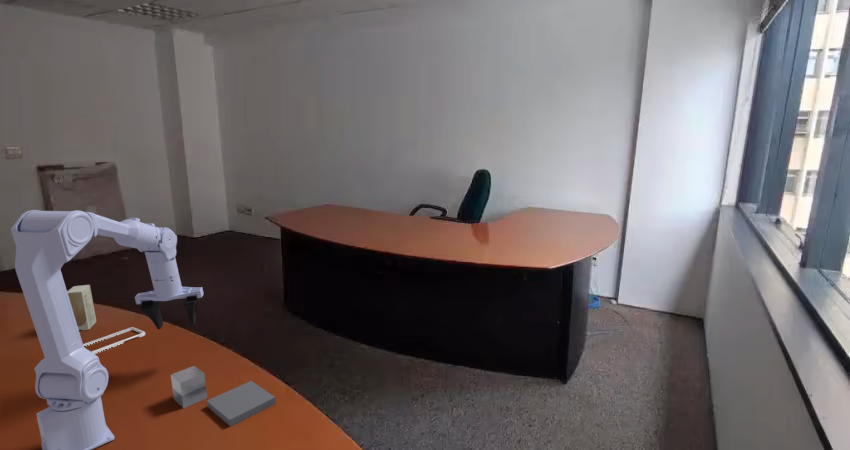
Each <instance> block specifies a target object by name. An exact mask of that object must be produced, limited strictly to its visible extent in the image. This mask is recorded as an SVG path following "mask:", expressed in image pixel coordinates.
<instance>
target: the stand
mask: <svg viewBox="0 0 850 450" xmlns="http://www.w3.org/2000/svg"><path fill="white" fill-rule="evenodd" d="M276 404H277V403H276V397H275V396H274V395H273V394H271V393H270V392H268V391H267V390H265V389H264V388H263V387H261V386H259V385H258V384H257V383H255V382H254V381H252V380H250V381H248V382H246V383H243V384H240V385H239V386H237V387H234V388H232V389H230V390H228V391H225V392H223V393H221V394H218V395H216V396H214V397H212V398H209V399H208V400H206V406H207V408H208V409H210V410H211V412H213V413H214V414H215V415H216V416H217V417H218V418H220V419H221V420H222V422H224V423H225V424H227V425H228V426H229V427H232V426H234V425H236V424H238V423H240V422H243V421H244V420H246V419H248V418H250V417H252V416H254V415H256V414H257V413H259V412H262V411H264V410H265V409H267V408H269V407H271V406H273V405H276Z"/></svg>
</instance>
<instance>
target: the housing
mask: <svg viewBox="0 0 850 450" xmlns="http://www.w3.org/2000/svg"><path fill="white" fill-rule="evenodd" d="M170 380H171V381H170V382H171V387H172V393H173V394H172V395H173V400H174V401H175V402H176V403H177V404H178V405H180V406H181V407H182V409H185V408H188V407H189V406H193V405H195V404H197V403H199V402H201V401H203V400H206V399H208V392H207V391H208V390H207V384H206V376H205V372H203V371H202V370H201V369H200V368H198V367H197V366H196V365H193V366H190V367H187V368H185V369H182V370H179V371H177V372H174V373H172V374H170Z"/></svg>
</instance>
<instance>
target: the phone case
mask: <svg viewBox="0 0 850 450" xmlns="http://www.w3.org/2000/svg"><path fill="white" fill-rule="evenodd" d="M130 331H134V332H136V333H138V334H136V335H133V336H130V337H128V338H125V339H122V340H119V341H116V342H114V343H111V344H109V345H105V346H103V347H100V348H97V349H95V350H92V351H91V352H92V353H93V354H95V355H96V354H99V353H101V351H102V352H104V351H106V350H105V349H107V350H110V349H112V348H111V347H113V348H115V347H118V346H119V345H120V344H121V345H123V344H124V342H126V341H129V340H131V339H135V338H137V337H138V338H142V337H144V336H146V332H145V331H144V330H141V329H139V328H136V327H134V326H131V327H128V328H126V329H122V330H119V331H116V332H113V333H111V334H109V335H106V336H102V337H99V338H97V339H94V340H90V341H88V342H86V343H83V346H86V347H88V346H91V345H94V344H96V343H95V342H97V343H99V342H98V341H100V342H102V341H105V340H107V339H111V338H113V337H114V338H115V337H116V335H117V336H119V335H121V334H125V333H127V332H128V333H129V332H130ZM104 339H105V340H104ZM101 340H102V341H101ZM93 343H94V344H93ZM90 344H91V345H90ZM87 345H88V346H87ZM117 345H118V346H117ZM109 348H110V349H109ZM103 350H104V351H103ZM98 352H99V353H98Z"/></svg>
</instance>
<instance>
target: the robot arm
mask: <svg viewBox="0 0 850 450" xmlns="http://www.w3.org/2000/svg"><path fill="white" fill-rule="evenodd" d="M155 225H156V224H155V223H152V222H149V223H145V222H141V219H140V218H137V217H130V218H128V219H127V218H125V219H123V220H121V221H117V220H115V219H112V218H108V217H106V216H102V215H99V214H95V213H94V212H89V211H83V210H77V209H76V210H71V211H69V210H68V211H67V210H64V211H63V210H62V211H61V210H59V211H58V210H38V209H32V210H31V209H30V210H27V211H25V212H23V213H22V214H21V215H20V216H19V218H18V219H17V220H16V221H15V223H14V224H13V226H12V227H11V228H10V233H11V235H12V238H13V241H14V244H15V256H14V257H15V260H14V268H15V272H16V276H17V278H18V281H19V284H20V287H21V290H22V292H23V293H22V294H23V296H24V298H25V302H26V305H27V308H28V311H29V315H30V317H31V320H32V324H33V327H34V329H35V332H36V335H37V338H38V341H39V345H40V348H41V350H42V354H43V357H44V358H42V360H40V361H39V362H38V364H36V366H35V367H34V372H35V384H34V390H35V393H36V395H37V396H38V397H39V398H41V399H43V400H46V404H47V406H48V407H46V408H45V409H43V410H41V411H39V412H36V421H37V424H38V425H37V426H38V428H39V429H38V430H39V435H40V437H41V438H40V440H41V442H40V444H41V450H94V449H96V448H98V447H100V446H102V445H104V444H107V443H109V442H111V441H113V440H115V435H114V434H113V432H112V431H111V429H110V428H109V427H108V425H107V423H106V418H105V413H104V409H103V408H104V406H103V401H102V397H101V396H102V395H104V392H105V390H106V389H107V386H108V384H109V371H108V370H107V368H106V367H105V366H103V365H102V363H101V361H100V358H99V356H98V355H96V354H93V353H92V351H91V350H89V349H87V348H86V347H84V346H83V344H84V343H83V340H82V337H81V333H80V331H79V330H78V326H77V323H76V320H75V316H74V313H73V310H72V306H71V303H70V300H69V296H68V293H67V291H68V290H67V287H66V283H65V280H64V277H63V273H62V271H61V269H62V267H63V266H64V265H65V264H66V263H68V262H69V261H71V260H72V258H74V257H75V256H76V255H77V254H78V253H79V252H80V251H81V250H82V249H83V248H84V247H85V246H86V245H87V244H88V243H89V242H90V241H91V240H92V237H93V238H95V237H97V236H103V237H108V238H113V239H114V241H115V242H116V243H117V244H118V245H120V246H122V247H127V248H132V249H137V250H138V251H139V252H141V253H144V255H145V259H146V263H147V266H148V270H149V274H150V277H151V278H150V279H151V282H152V287H153V290H151V291H150V290H149V291H146V292H140V293H139V292H138V293H137V294H136V295H135V296H134V300H135V304H136V305H141V306H140V311H141V312H142V313H143V314H145V315H146V316H147V317H148V318H149V319H150V321H151V322H152V324H154V326H155V327H156V329H157V330H161V329H162V327H163V326H164V321H163V316H162V313H161V307H160V302H167V301H168V302H169V301H172V300H178V299H179V300H180V299H185V301H184V302H183V306H184V308H185V310H186V312H187V316H188V320H189V325H190V326H195V324H196V322H197V309H198V305H199V302H200V298H203V296H204V290H203V286H201V287H200V286H198V287H196V286H195V287H192V286H182V281H181V278H180V273H179V268H178V263H177V259H176V256H177V245H178V236H177V234H176V233H175V232H174V231H173V230H172V229H171V228H169V227H161V226H160V227H157V226H155Z"/></svg>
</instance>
